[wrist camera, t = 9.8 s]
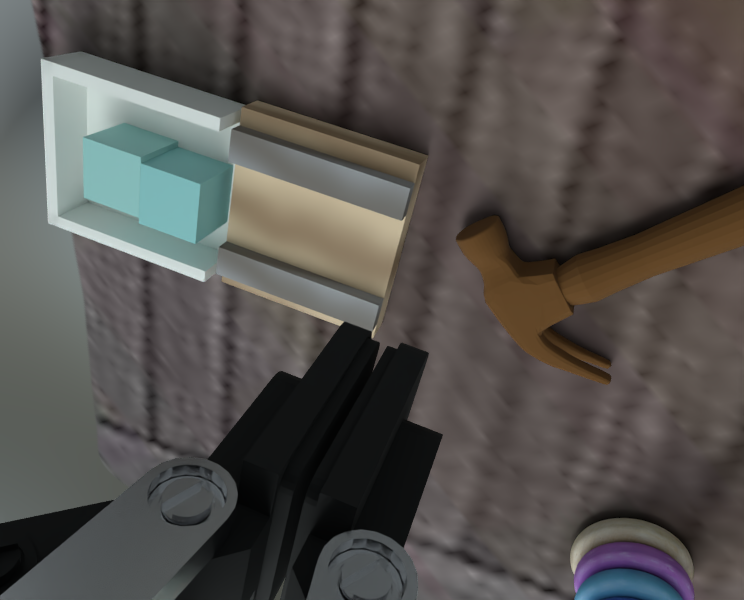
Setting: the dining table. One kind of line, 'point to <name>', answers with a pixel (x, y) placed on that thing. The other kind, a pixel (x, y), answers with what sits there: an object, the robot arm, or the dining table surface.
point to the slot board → (317, 215)
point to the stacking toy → (630, 562)
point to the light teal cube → (119, 164)
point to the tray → (143, 110)
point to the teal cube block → (184, 194)
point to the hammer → (590, 275)
